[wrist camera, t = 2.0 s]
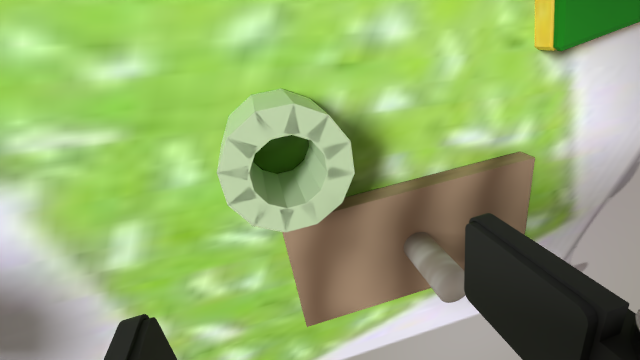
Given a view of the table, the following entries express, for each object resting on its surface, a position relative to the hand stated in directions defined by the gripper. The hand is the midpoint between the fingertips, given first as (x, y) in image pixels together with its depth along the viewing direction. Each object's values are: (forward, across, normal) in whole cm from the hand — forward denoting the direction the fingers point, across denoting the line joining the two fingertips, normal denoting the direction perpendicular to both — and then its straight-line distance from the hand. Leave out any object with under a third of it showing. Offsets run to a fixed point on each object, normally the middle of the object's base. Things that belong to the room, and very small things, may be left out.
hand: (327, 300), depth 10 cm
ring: (+14, 0, -1) cm, 14 cm away
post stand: (+14, -9, +9) cm, 19 cm away
